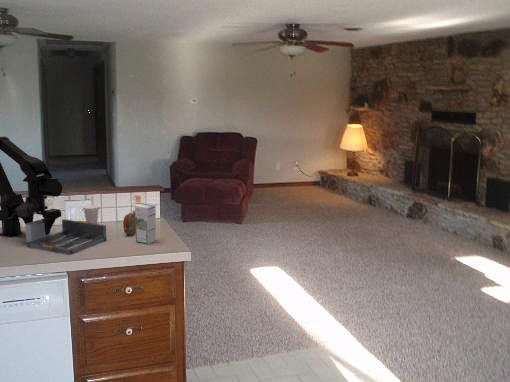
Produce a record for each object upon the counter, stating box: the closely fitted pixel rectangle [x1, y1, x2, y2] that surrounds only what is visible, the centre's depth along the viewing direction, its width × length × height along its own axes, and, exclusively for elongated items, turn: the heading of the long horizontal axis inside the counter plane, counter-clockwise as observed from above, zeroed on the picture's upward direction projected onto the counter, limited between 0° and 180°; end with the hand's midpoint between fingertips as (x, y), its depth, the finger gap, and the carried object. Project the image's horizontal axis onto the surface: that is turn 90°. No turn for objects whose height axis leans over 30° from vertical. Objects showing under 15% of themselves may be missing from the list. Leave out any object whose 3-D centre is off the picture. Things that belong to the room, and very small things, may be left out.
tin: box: [122, 209, 136, 236], centre depth 222 cm, size 15×3×8 cm, turn 168°
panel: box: [24, 219, 52, 243], centre depth 210 cm, size 2×10×7 cm, turn 157°
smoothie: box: [82, 195, 100, 224], centre depth 224 cm, size 6×6×14 cm
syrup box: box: [134, 202, 157, 245], centre depth 209 cm, size 6×6×14 cm
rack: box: [26, 218, 107, 256], centre depth 204 cm, size 20×20×6 cm
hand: (38, 233), depth 210 cm, fingers open, 8 cm apart
